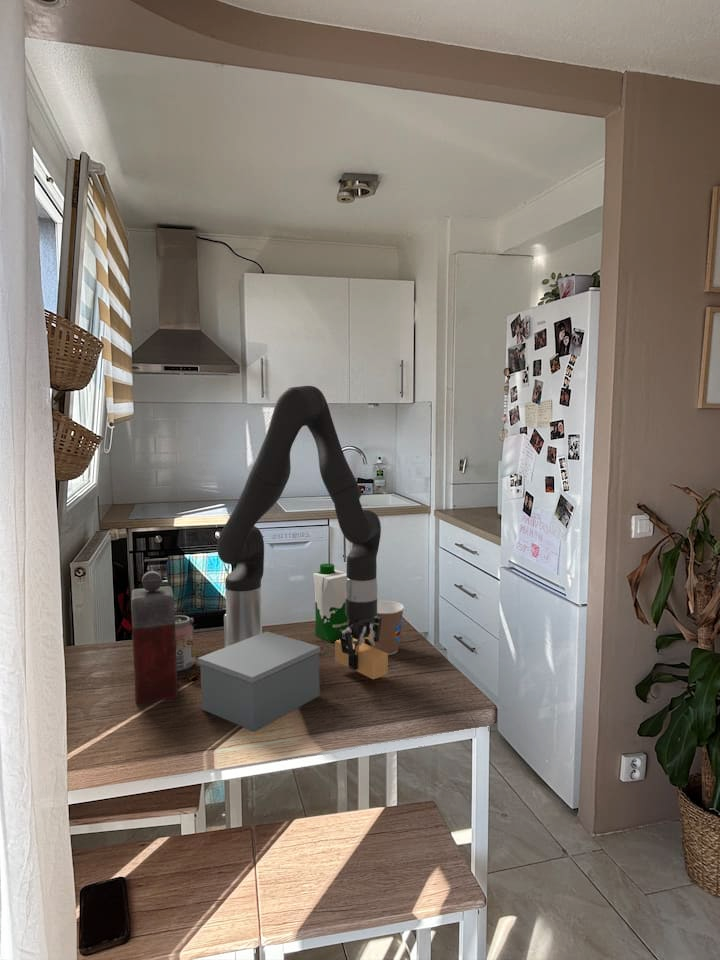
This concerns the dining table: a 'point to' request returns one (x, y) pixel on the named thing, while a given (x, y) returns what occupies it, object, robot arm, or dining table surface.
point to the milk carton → (330, 602)
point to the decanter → (154, 640)
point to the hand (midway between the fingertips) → (360, 664)
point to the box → (259, 693)
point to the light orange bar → (365, 660)
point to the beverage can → (184, 642)
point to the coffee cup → (389, 626)
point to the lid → (258, 656)
